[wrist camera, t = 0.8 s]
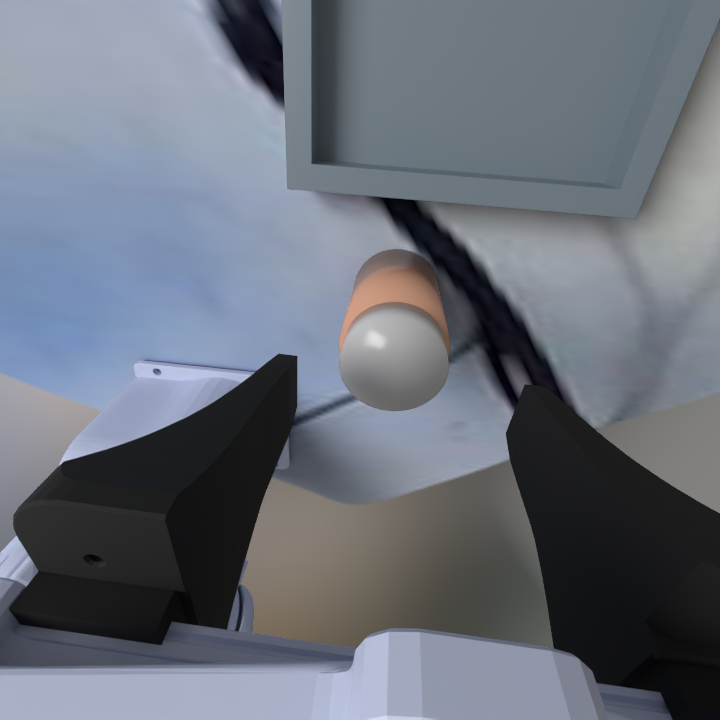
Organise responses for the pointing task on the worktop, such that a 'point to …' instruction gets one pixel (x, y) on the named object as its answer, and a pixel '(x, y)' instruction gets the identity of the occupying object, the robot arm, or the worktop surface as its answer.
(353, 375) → the shaker
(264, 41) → the worktop surface
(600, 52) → the tray
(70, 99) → the worktop surface
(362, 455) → the worktop surface
